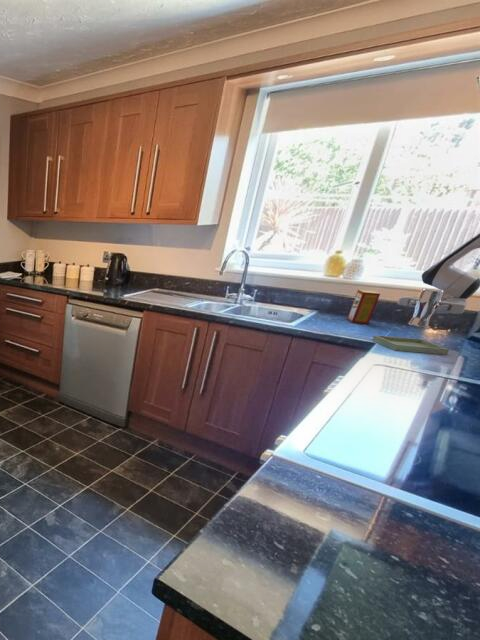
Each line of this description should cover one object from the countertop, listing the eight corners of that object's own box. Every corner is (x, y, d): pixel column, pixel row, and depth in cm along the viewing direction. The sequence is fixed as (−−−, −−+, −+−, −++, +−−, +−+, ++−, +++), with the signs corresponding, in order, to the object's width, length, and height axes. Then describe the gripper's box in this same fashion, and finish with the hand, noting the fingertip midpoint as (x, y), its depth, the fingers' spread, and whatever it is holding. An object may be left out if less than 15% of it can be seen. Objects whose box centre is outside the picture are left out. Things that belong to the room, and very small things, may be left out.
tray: (419, 344, 184) (422, 339, 184) (446, 354, 170) (449, 349, 170) (372, 340, 188) (374, 335, 188) (394, 350, 174) (397, 344, 174)
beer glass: (434, 327, 179) (450, 291, 173) (417, 327, 179) (433, 291, 173) (418, 323, 185) (433, 288, 179) (402, 322, 185) (416, 288, 179)
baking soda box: (346, 318, 228) (358, 289, 222) (362, 320, 225) (374, 290, 219) (352, 322, 220) (363, 291, 214) (368, 324, 218) (380, 293, 212)
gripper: (406, 291, 192) (396, 294, 185) (472, 299, 176) (463, 302, 169) (400, 305, 194) (390, 308, 187) (465, 314, 179) (456, 318, 172)
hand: (425, 305), depth 178 cm, fingers closed on beer glass, 7 cm apart
